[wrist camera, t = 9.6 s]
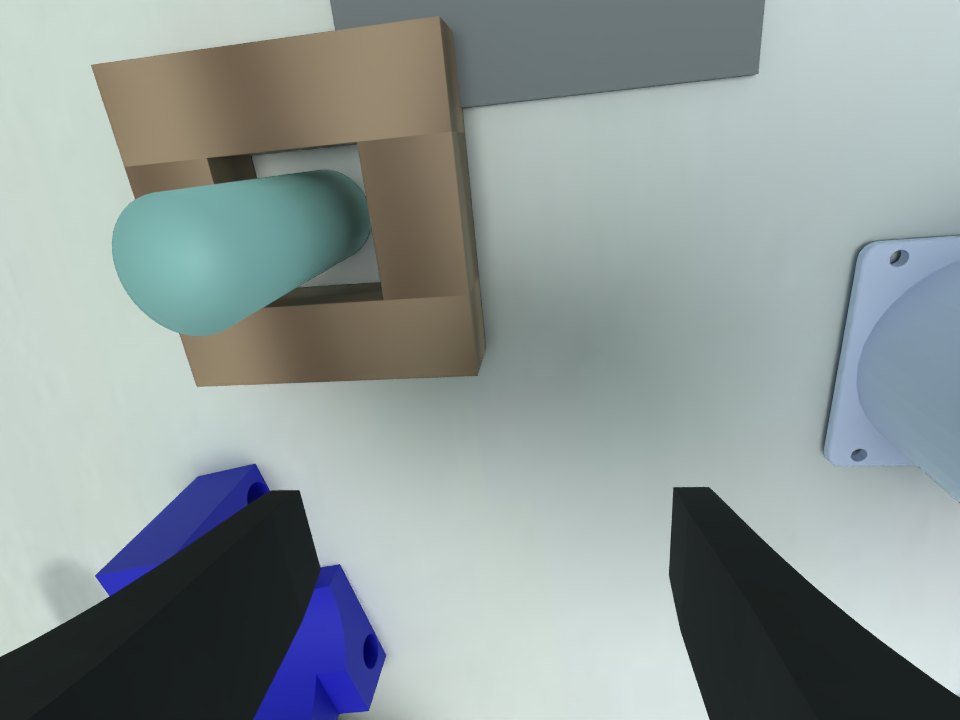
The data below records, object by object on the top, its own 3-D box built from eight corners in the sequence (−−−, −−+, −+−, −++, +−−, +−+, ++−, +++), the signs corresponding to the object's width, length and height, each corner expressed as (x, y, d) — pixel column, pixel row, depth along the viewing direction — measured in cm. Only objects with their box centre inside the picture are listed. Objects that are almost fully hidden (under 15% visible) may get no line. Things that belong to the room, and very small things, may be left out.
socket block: (455, 34, 16) (439, 15, 13) (485, 347, 19) (477, 375, 17) (152, 75, 17) (90, 65, 15) (235, 359, 21) (196, 386, 18)
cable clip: (386, 652, 27) (345, 785, 21) (309, 661, 28) (249, 791, 22) (287, 454, 23) (203, 555, 17) (200, 474, 24) (94, 575, 18)
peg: (365, 168, 17) (234, 189, 10) (376, 258, 19) (264, 336, 11) (279, 171, 18) (92, 194, 10) (295, 259, 19) (136, 335, 12)
